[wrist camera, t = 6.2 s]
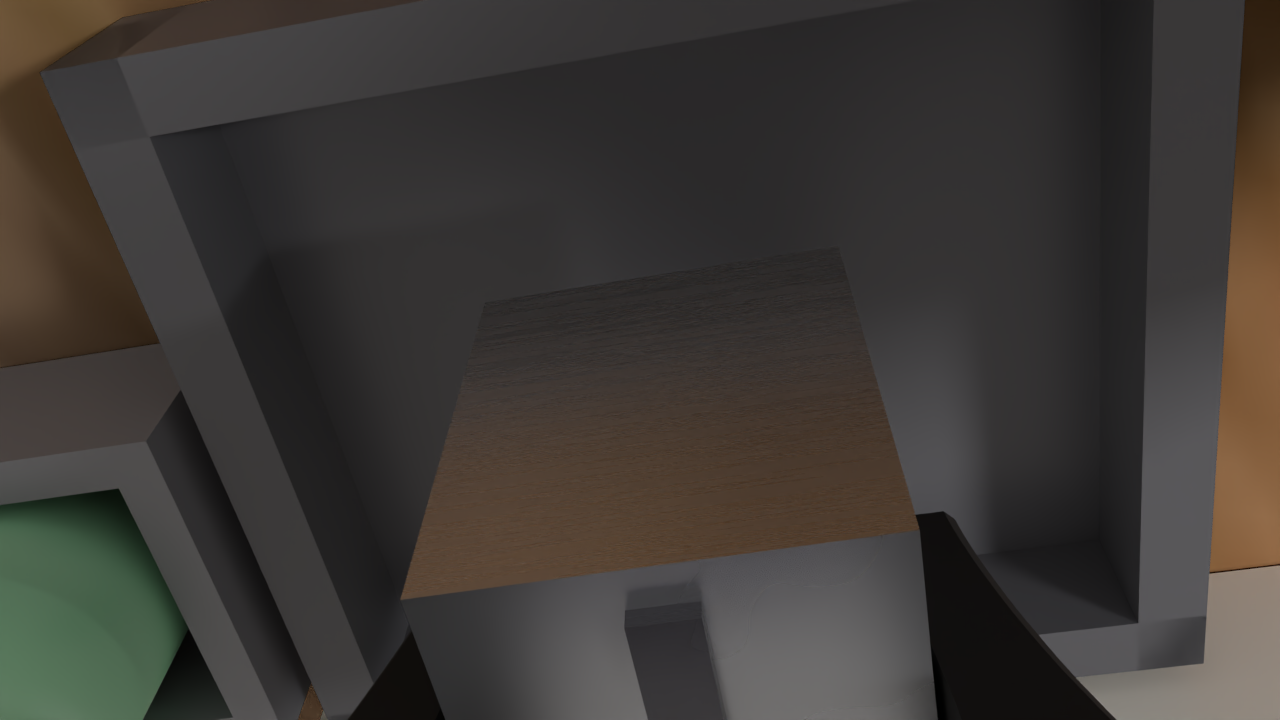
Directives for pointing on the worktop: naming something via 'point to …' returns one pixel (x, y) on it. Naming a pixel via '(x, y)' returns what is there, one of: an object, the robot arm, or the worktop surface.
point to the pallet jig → (1210, 661)
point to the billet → (674, 510)
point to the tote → (690, 255)
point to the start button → (81, 611)
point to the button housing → (157, 520)
